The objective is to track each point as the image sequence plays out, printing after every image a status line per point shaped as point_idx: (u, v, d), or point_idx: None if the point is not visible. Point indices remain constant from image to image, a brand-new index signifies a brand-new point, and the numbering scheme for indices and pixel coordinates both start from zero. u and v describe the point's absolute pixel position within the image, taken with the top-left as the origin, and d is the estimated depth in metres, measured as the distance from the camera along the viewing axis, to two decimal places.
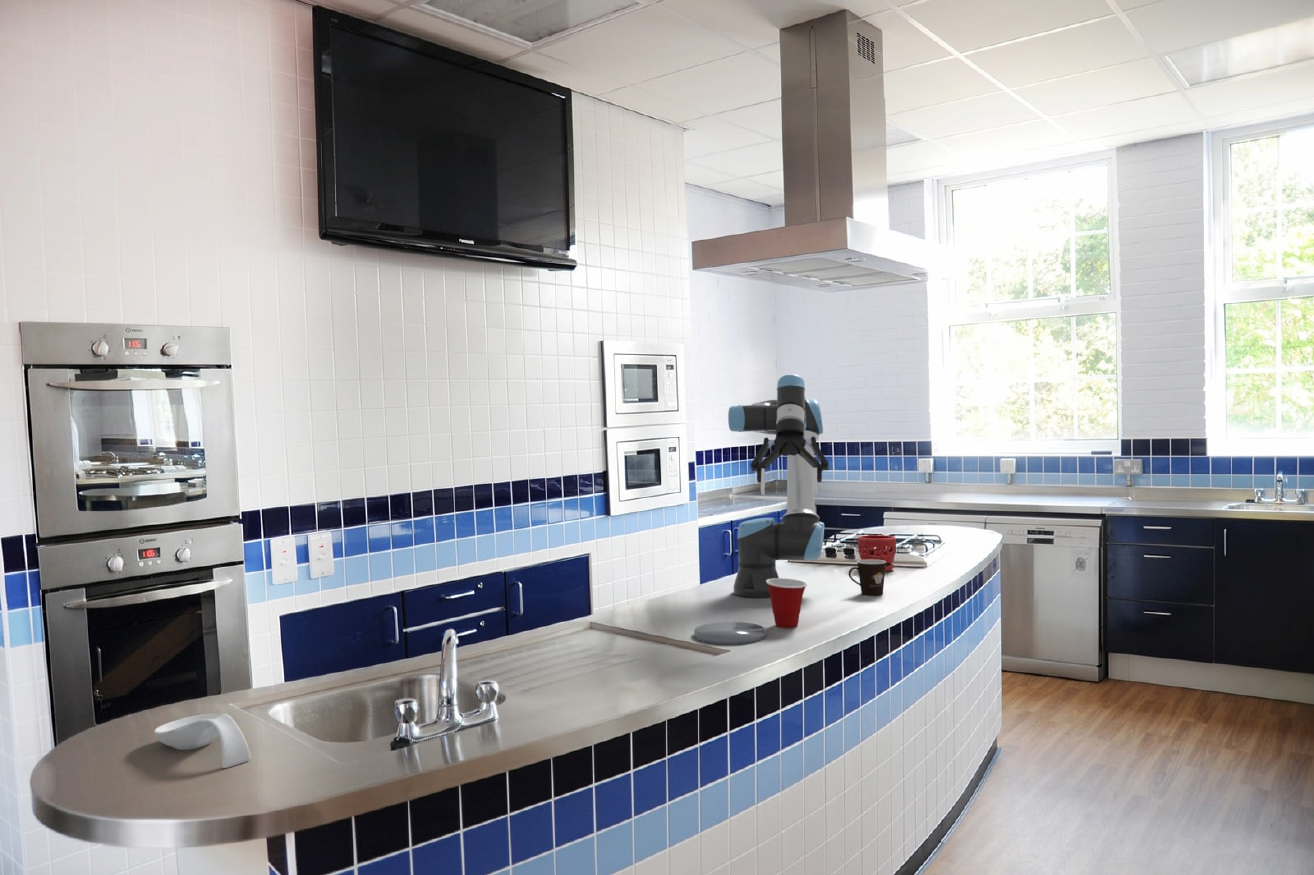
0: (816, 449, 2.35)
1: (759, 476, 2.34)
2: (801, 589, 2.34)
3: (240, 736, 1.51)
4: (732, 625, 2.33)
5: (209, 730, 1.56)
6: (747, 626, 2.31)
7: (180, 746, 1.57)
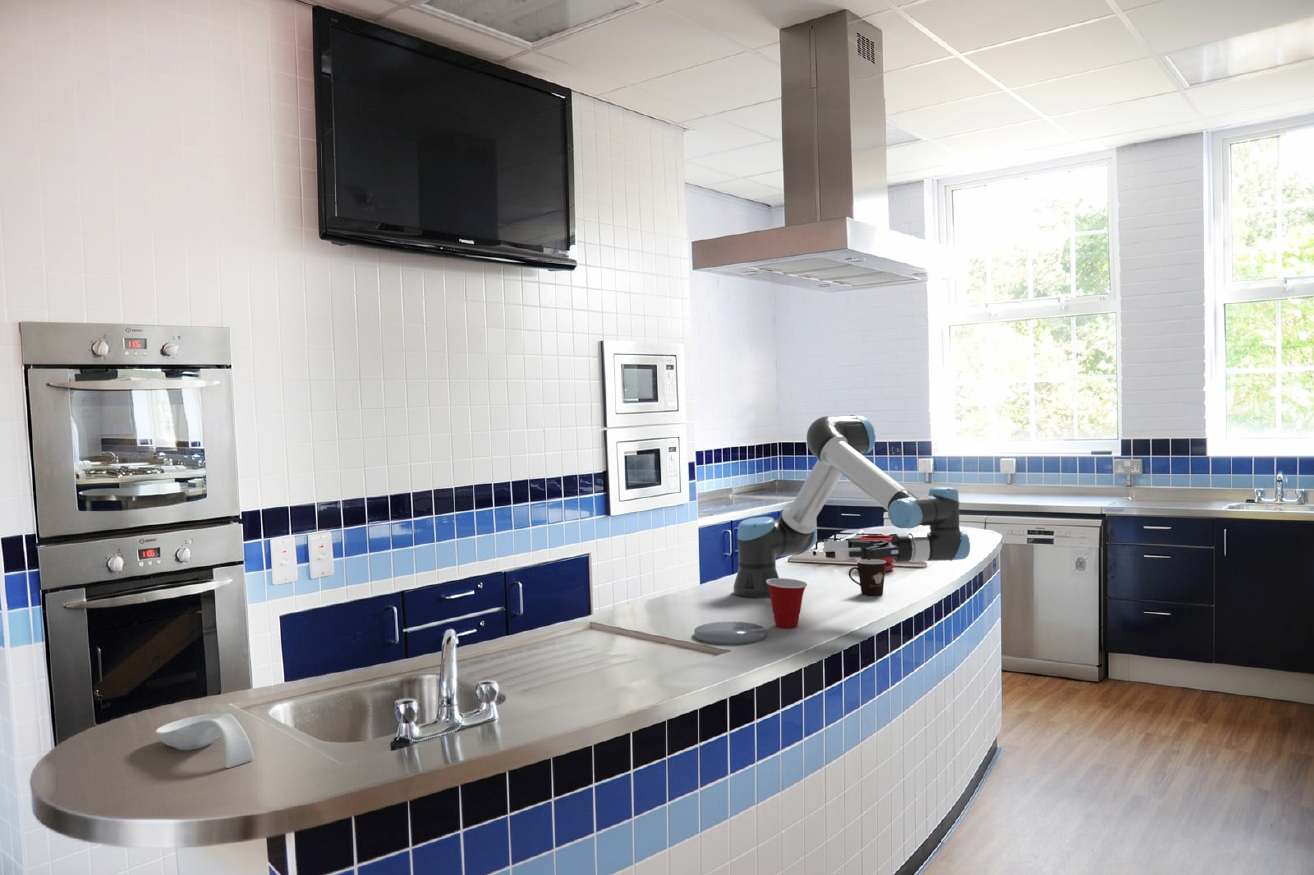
0: None
1: (853, 556, 2.30)
2: (801, 589, 2.34)
3: (243, 736, 1.51)
4: (732, 625, 2.33)
5: (211, 730, 1.56)
6: (747, 626, 2.31)
7: (182, 746, 1.57)
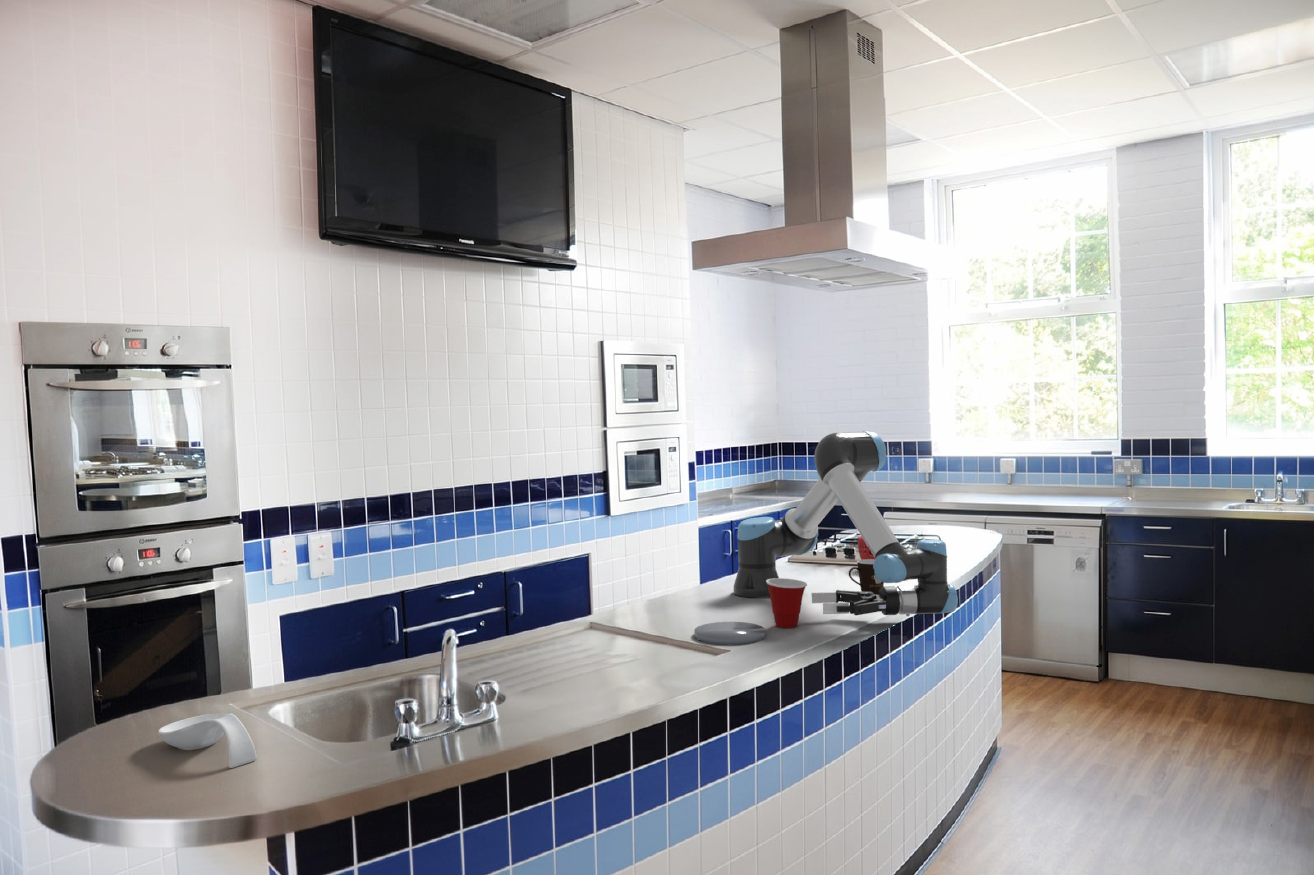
0: None
1: None
2: (801, 589, 2.34)
3: (246, 736, 1.51)
4: (732, 625, 2.33)
5: (214, 730, 1.56)
6: (747, 626, 2.31)
7: (185, 746, 1.57)
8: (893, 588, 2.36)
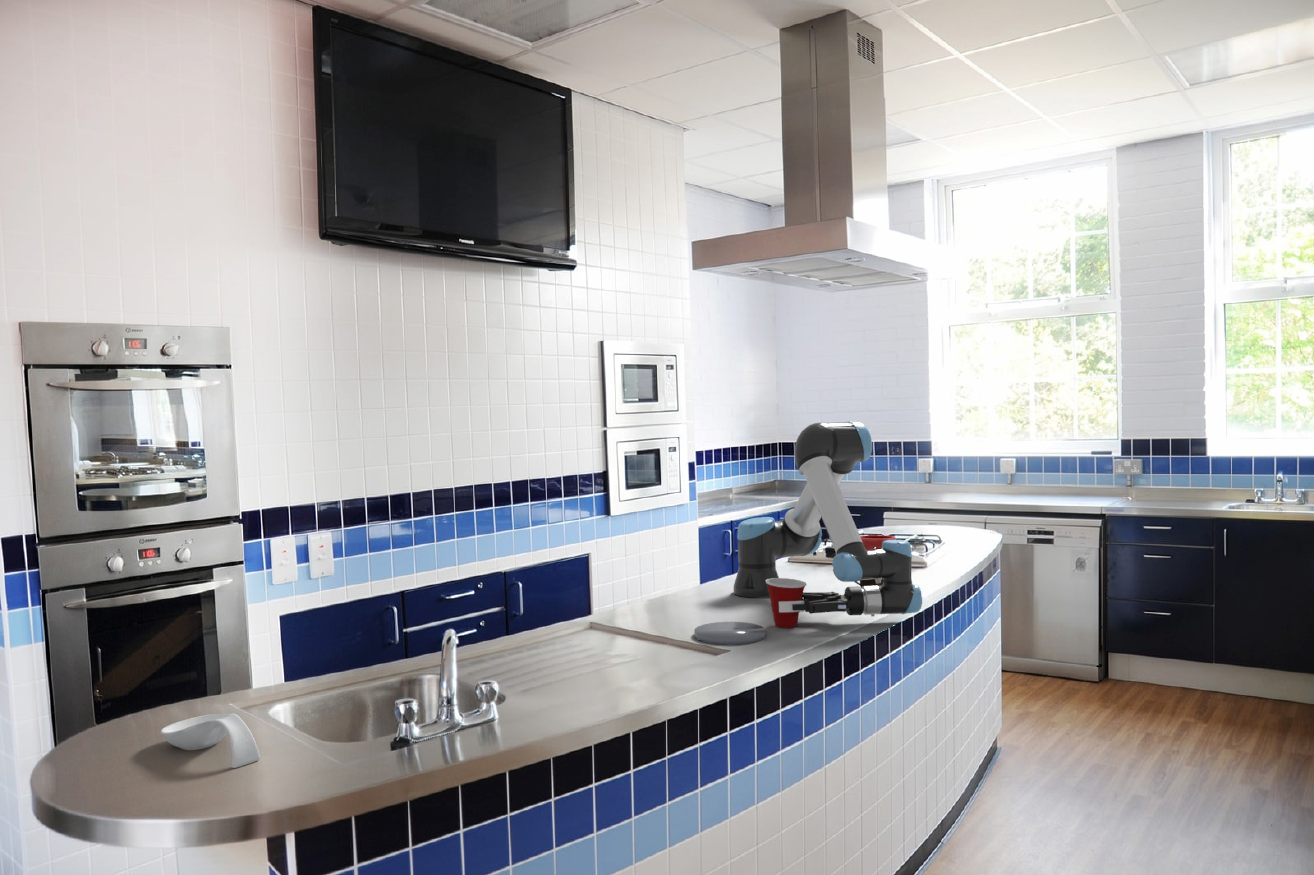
0: None
1: None
2: (800, 589, 2.34)
3: (249, 736, 1.51)
4: (732, 625, 2.33)
5: (216, 731, 1.56)
6: (747, 626, 2.31)
7: (188, 746, 1.56)
8: (858, 588, 2.36)
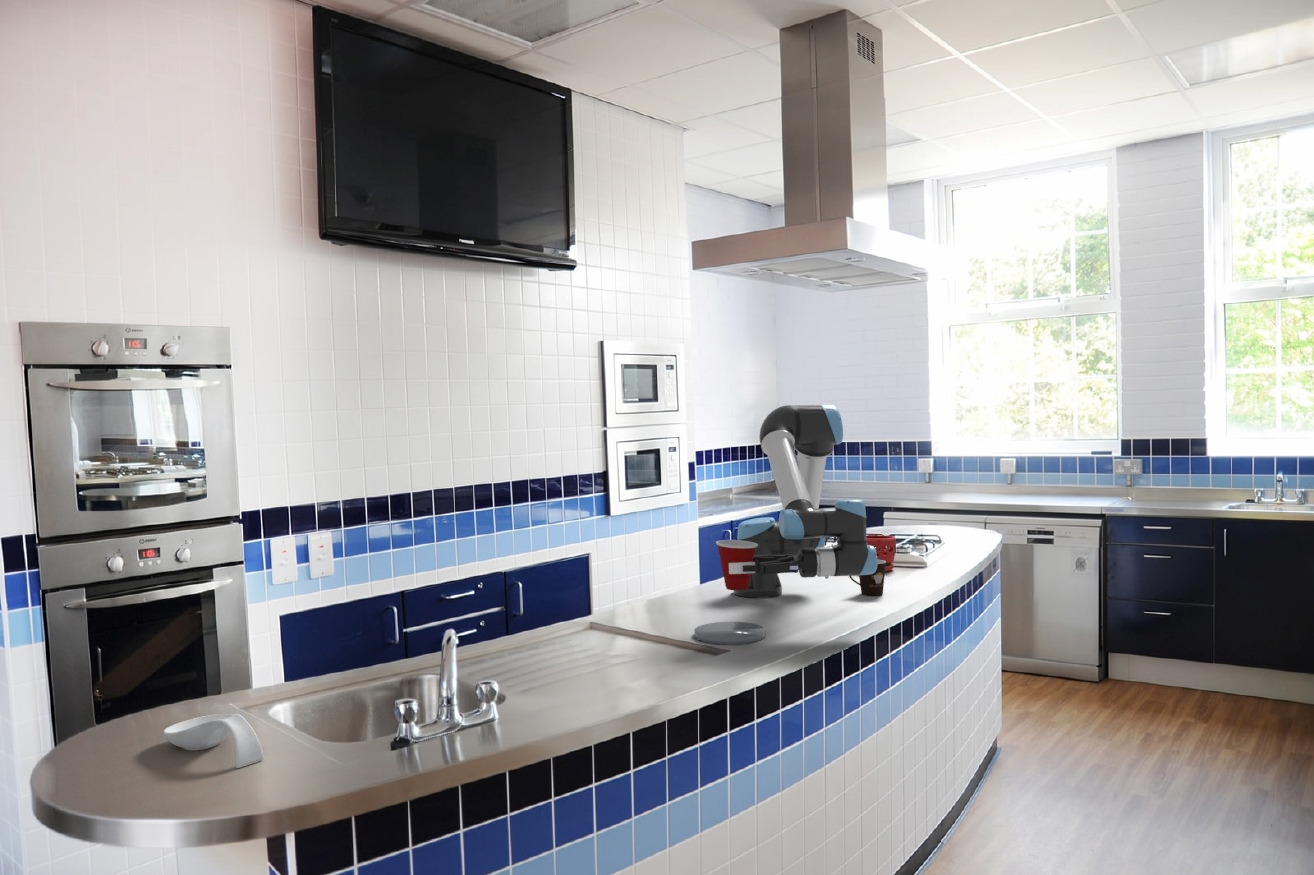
0: None
1: None
2: (751, 550, 2.25)
3: (253, 736, 1.51)
4: (732, 625, 2.33)
5: (220, 731, 1.56)
6: (747, 626, 2.31)
7: (191, 747, 1.56)
8: (811, 549, 2.28)
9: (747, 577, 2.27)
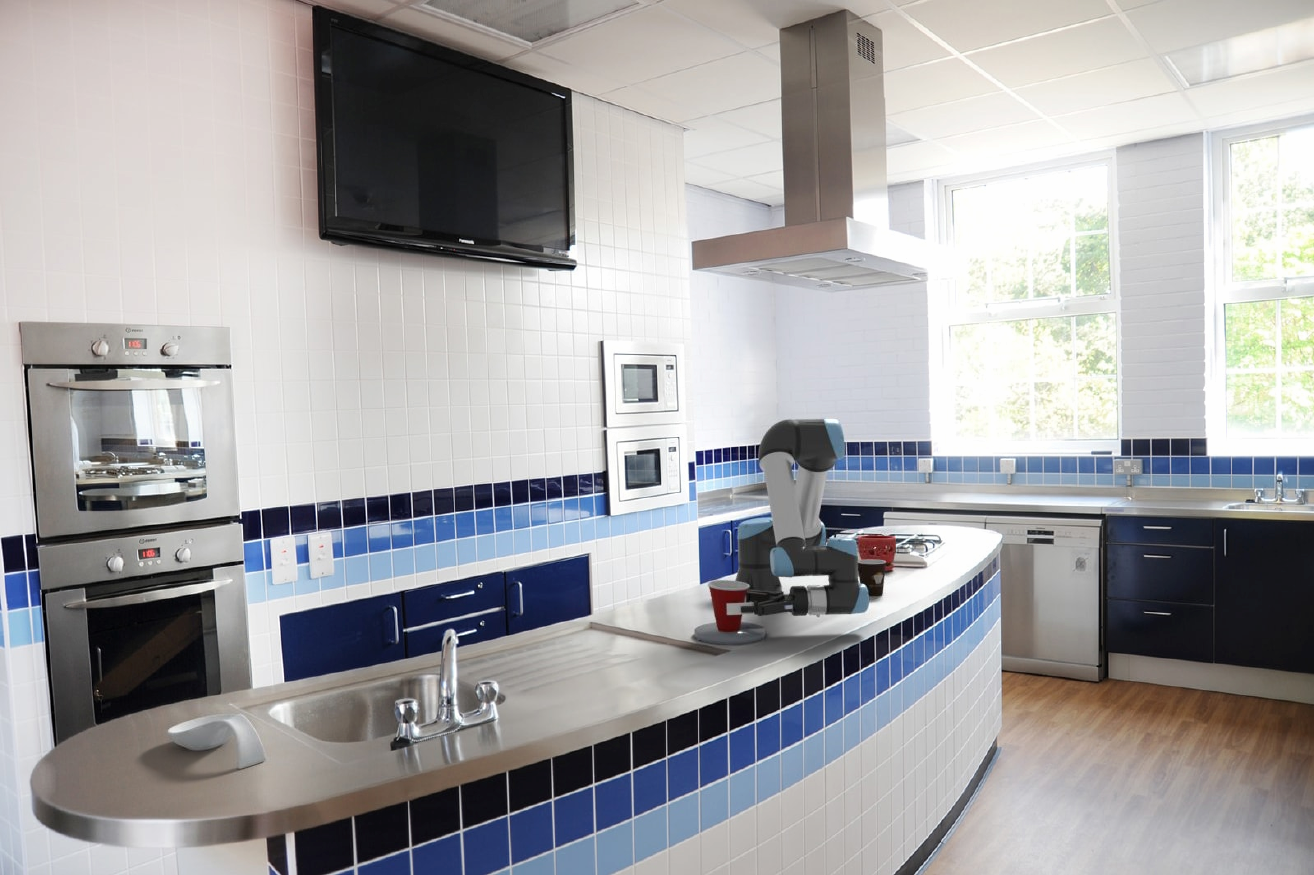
0: None
1: None
2: (742, 591, 2.25)
3: (255, 736, 1.51)
4: None
5: (223, 731, 1.56)
6: (747, 626, 2.31)
7: (194, 747, 1.56)
8: (802, 588, 2.27)
9: (738, 619, 2.26)
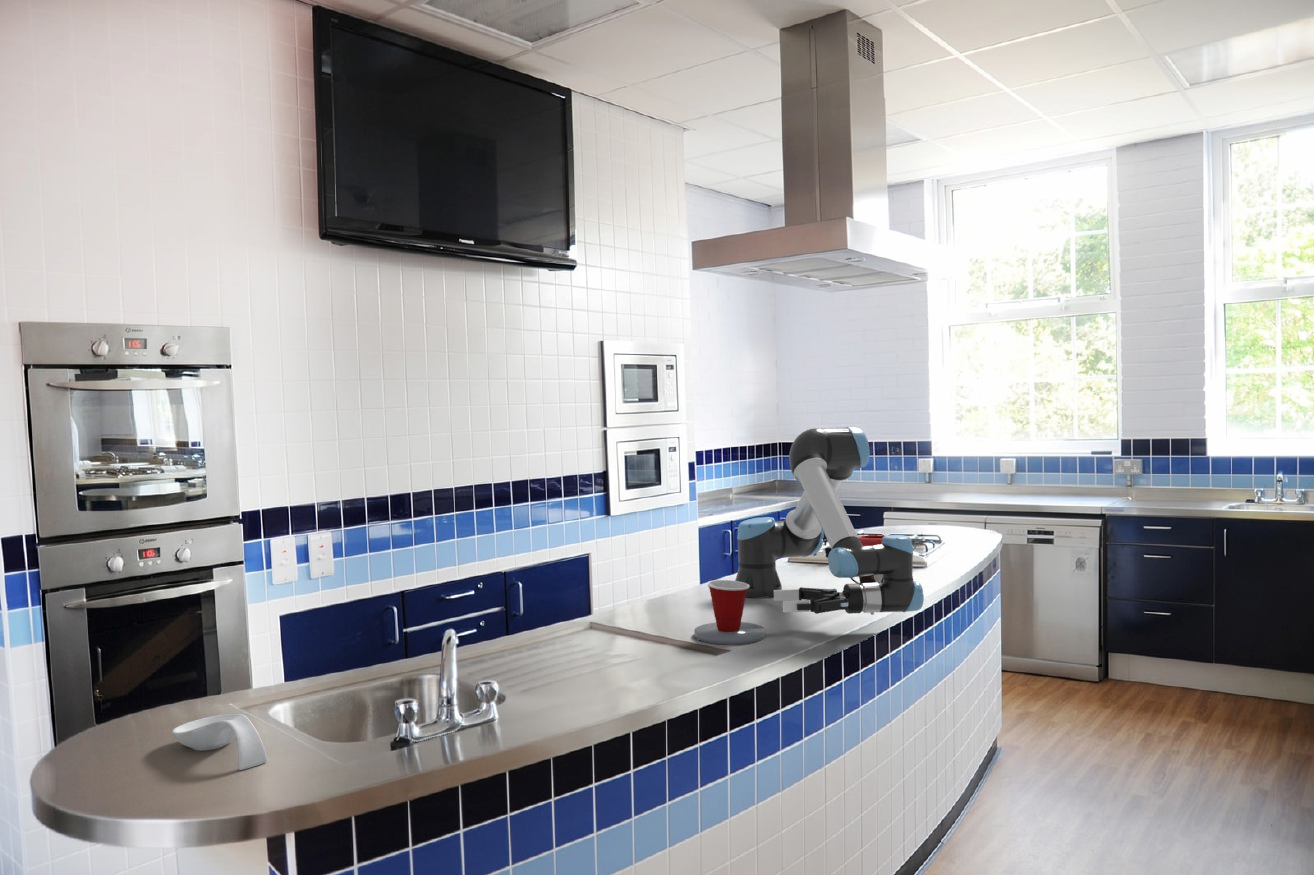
0: None
1: None
2: (742, 591, 2.25)
3: (257, 738, 1.50)
4: None
5: (226, 731, 1.55)
6: (747, 626, 2.31)
7: (198, 747, 1.56)
8: (857, 585, 2.28)
9: (738, 619, 2.26)
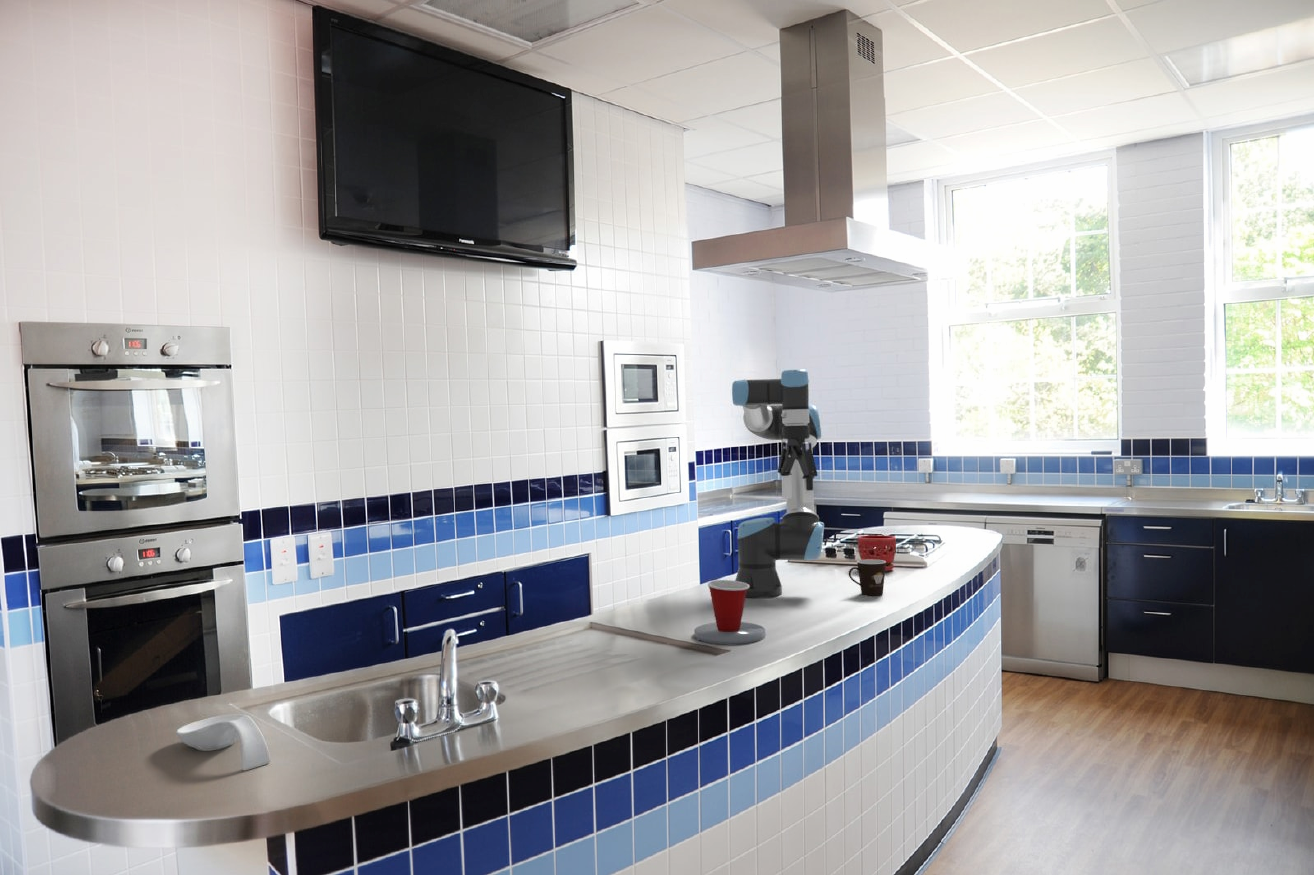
0: (803, 457, 2.45)
1: None
2: (742, 591, 2.25)
3: (260, 738, 1.50)
4: None
5: (230, 732, 1.55)
6: (747, 626, 2.31)
7: (202, 747, 1.56)
8: None
9: (738, 619, 2.26)
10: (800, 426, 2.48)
